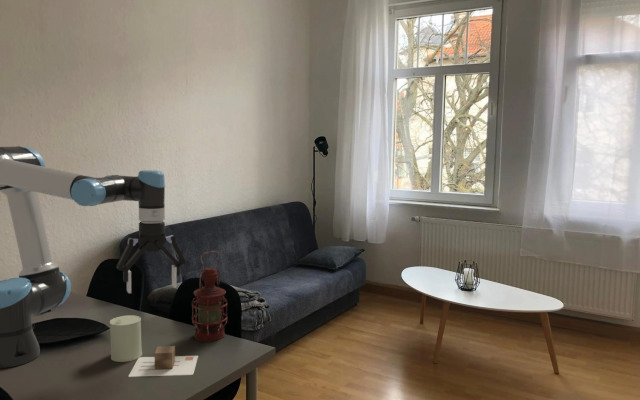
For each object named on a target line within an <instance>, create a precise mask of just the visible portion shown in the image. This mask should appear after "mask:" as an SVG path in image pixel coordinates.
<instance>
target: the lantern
mask: <svg viewBox="0 0 640 400" xmlns="http://www.w3.org/2000/svg"><path fill="white" fill-rule="evenodd" d="M211 253H216V254H217V258H216V261H215V266H216V268H214V267H206V268H204V262H203V259H202V257H203V256H204V255H207V254H211ZM219 255H220V252H219V251H217V250H210V251H206V252H203V253H202V254H201V255H200V261H201V263H202V269H201V271H200V273H199V281H198V282H199V283H198V284H199V285H198V286H199V287H198V288H197V289H195V290H194V291H193V295H194V297H193V299H192V301H191V309H192V312H191V313H192V315H191V321H192V324H193V325H194V327H195V328H194V330H195V332H194V335H193V338H194V339H195V340H196V341H199V342H205V343H206V342H208V343H209V342H215V341H216V342H217V341H220V340H222V338H223V337H224V336H226V333H225V326H226V324H227V323H228V305H229V304H228V300H227V298H226V297H225V295H226V294H227V293H226V292H227V291H226V289H224V288H221V287H220V286H219V285H220V283H221V282H220V281H221V280H220V279H221V278H220V277H221V276H220V275H221V273H220V268H219V267H218V263H217V262H218V259H219ZM217 270H218V271H217ZM201 281H202V282H201ZM203 282H204V286H203V284H202V283H203ZM215 283H216V285H217V286H216V285H215ZM224 303H225V304H224ZM224 308H225V313H224ZM194 310H195V314H194ZM224 317H225V318H224ZM194 318H195V319H194ZM224 322H225V323H224ZM223 323H224V324H223ZM224 338H225V337H224ZM224 338H223V339H224Z"/></svg>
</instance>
